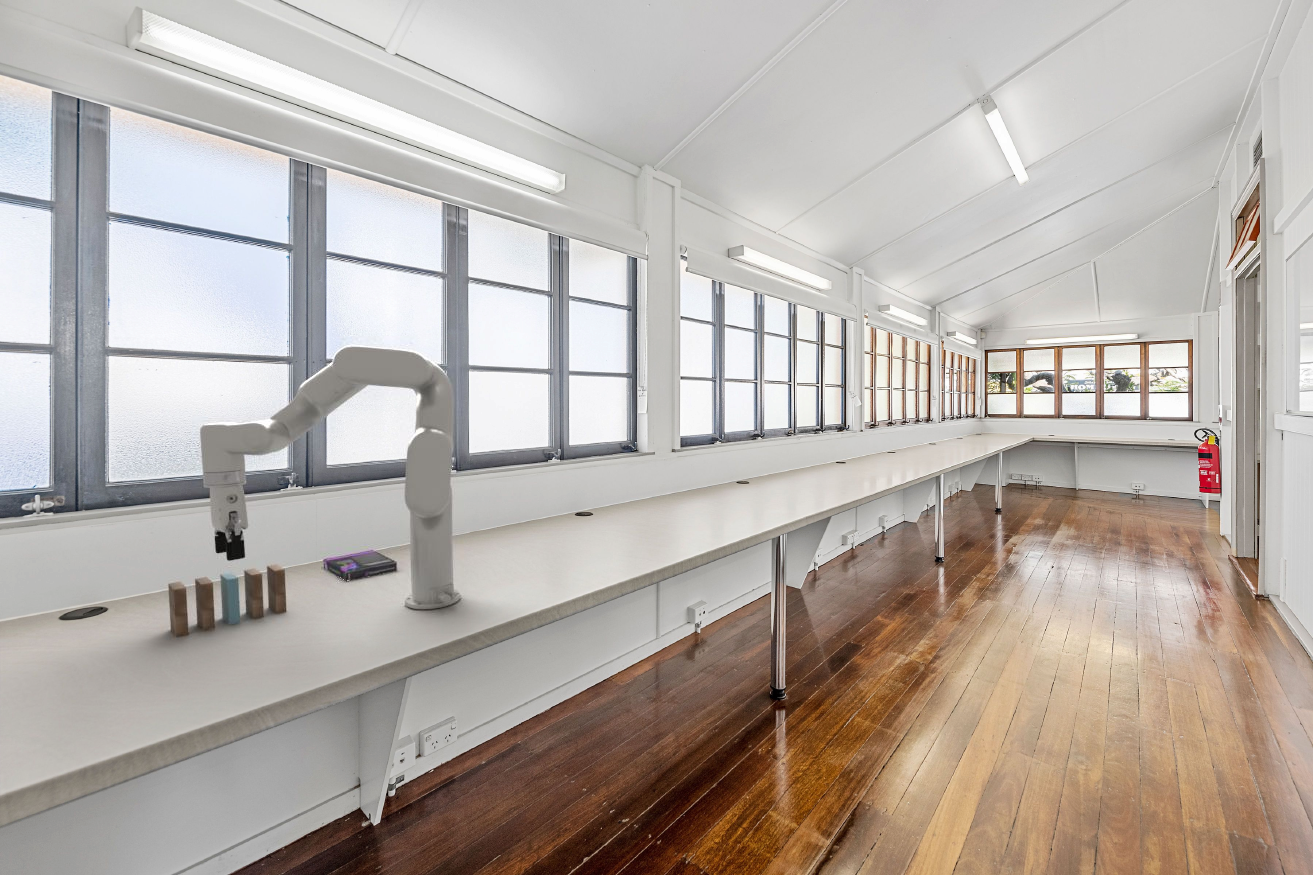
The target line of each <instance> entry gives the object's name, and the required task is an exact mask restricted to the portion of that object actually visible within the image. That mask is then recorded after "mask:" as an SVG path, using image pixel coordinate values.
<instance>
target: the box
mask: <svg viewBox="0 0 1313 875" xmlns="http://www.w3.org/2000/svg"><path fill="white" fill-rule="evenodd" d="M397 564H398V563H397V561H395V560H393V559H392V558H390V557H388V556H386V555H384V554H381V553H379V552H377V551H375V550H373V549H369V550H365V551H361V552H356V553H350V554H345V555H340V556H334V557H328V558H324V559H323V568H324V569H325V570H327V571H329V572H330V573H332V574H333V573H334V575H335V576H337V577H338V576H339V577H338V578H340V577H341V578H342V579H341V578H340V579H341V580H343V579H344V580H343V581H345V580H346V581H345V582H348V581H347V580H350V581H354V580H353V579H355V580H359V579H358V578H360V579H363V578H362V577H365V578H369V577H368V576H370V577H374V575H375V576H378V575H379V574H380V575H384V574H383V573H385V574H389V573H388V572H390V573H394V572H393V571H395V572H398V565H397ZM380 575H379V576H380Z"/></svg>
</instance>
